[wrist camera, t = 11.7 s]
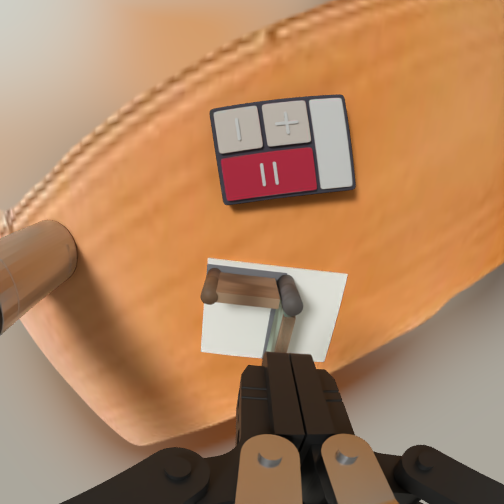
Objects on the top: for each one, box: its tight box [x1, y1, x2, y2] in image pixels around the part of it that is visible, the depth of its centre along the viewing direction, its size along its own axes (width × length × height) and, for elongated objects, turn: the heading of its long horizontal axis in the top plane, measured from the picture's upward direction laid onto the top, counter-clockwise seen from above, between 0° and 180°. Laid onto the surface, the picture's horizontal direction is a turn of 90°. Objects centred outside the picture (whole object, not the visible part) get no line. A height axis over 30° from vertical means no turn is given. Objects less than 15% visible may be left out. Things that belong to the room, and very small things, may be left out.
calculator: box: [210, 95, 356, 205], centre depth 34 cm, size 11×4×15 cm
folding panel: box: [262, 294, 296, 359], centre depth 38 cm, size 11×2×6 cm, turn 170°
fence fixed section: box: [201, 268, 303, 316], centre depth 37 cm, size 11×2×7 cm, turn 82°
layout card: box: [201, 258, 348, 362], centre depth 41 cm, size 18×14×1 cm
